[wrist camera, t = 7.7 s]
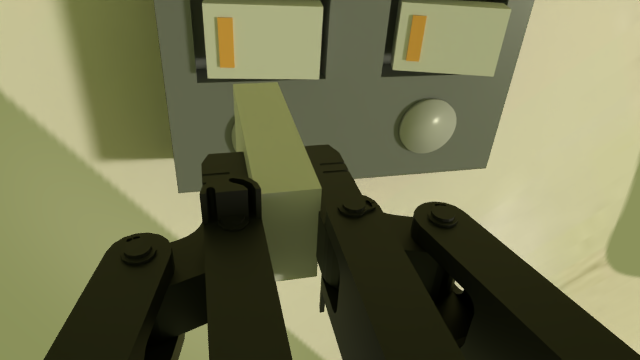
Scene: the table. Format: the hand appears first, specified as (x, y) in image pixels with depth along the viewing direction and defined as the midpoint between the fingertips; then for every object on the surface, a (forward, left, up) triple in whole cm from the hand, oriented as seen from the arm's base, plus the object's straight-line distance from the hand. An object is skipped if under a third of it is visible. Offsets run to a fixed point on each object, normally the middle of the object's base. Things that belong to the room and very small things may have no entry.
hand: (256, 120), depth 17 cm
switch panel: (-3, -6, -13) cm, 15 cm away
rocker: (0, -11, -9) cm, 14 cm away
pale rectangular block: (0, -1, -9) cm, 9 cm away
